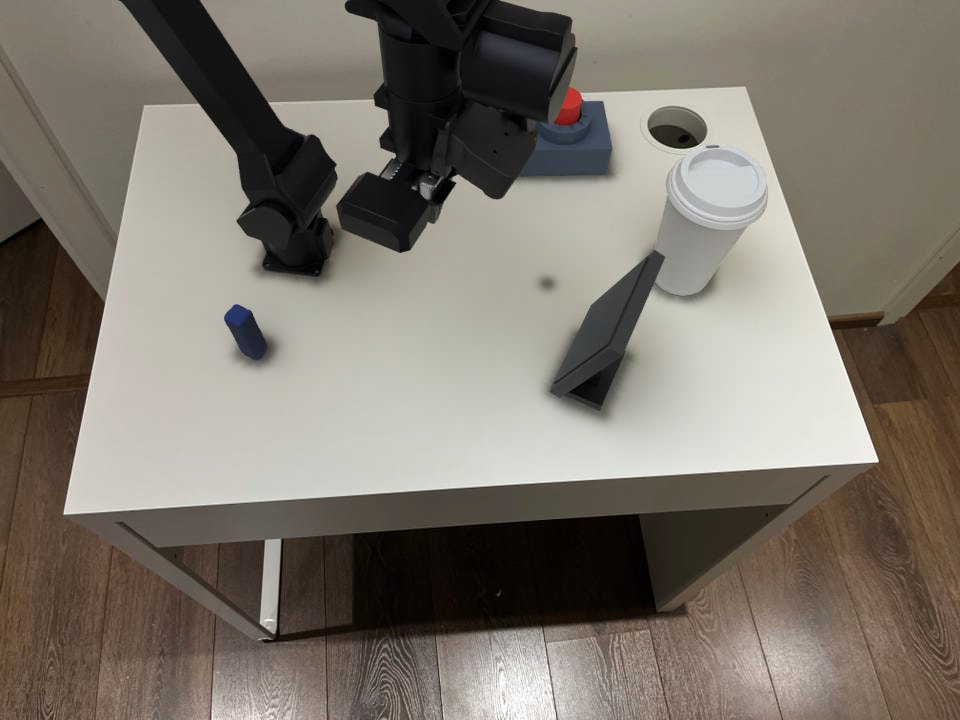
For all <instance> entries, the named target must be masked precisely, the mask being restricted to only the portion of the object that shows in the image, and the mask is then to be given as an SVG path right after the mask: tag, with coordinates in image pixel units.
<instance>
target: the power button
mask: <svg viewBox="0 0 960 720" xmlns="http://www.w3.org/2000/svg"><path fill="white" fill-rule="evenodd" d="M582 99H583V96H582V94H581V92H580V91H579V90H577V89H576V88H573V87H570V86H569V88H568V91H567V94H566V97H565V100H564V103H563V105H562V108H561V110H560V112H559V114H558V116H557V118H556V120H555V121H554V123H555V124H558V125H572V124H574V123H576V122H577V120H578V118H579V113H580V108H581V103H582Z"/></svg>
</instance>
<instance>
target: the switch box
mask: <svg viewBox="0 0 960 720" xmlns="http://www.w3.org/2000/svg"><path fill="white" fill-rule="evenodd" d="M535 129H536V130H537V131H539V133H538V135H537V136H538V141H537V142H536V148H535V150H534V151H533V153H532V155H531V156H530V158H529V160H528V161H527V163H526V164H525V166H524V168H523V169H522V171H521V173H520V174H519V176H518V177H537V176H538V177H543V176H544V177H545V176H549V177H550V176H596V175H597V176H598V175H599V176H600V175H607V171H608V169H609V164H610V160H611V157H612V153H613V143H612V139H611V134H610V129H609V123H608V118H607V112H606V108H605V103H604V100H585V99H583V98H582V103H581V108H580V113H579V118H578V120H577V122H576V123H574V124H572V125H558V124H555V123H553V124H552V125H548V124H545V123H542V122H538V121H536V124H535V126H534V127H533V131H534V130H535Z"/></svg>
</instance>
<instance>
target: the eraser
mask: <svg viewBox="0 0 960 720" xmlns="http://www.w3.org/2000/svg"><path fill="white" fill-rule="evenodd" d="M223 321H224V323H225V325H226V327H227V328H228V329H229V332H230V333H231V335H232V336H233V338H234V340H235V342H236V344H237V346H238V348H239V350H240V351H241V353H242V354H243V355H244V356H247V357H248V358H249V359H251V360H254V361H255V360H257V361H258V360H259V359H260V358H262V357H263V356H264V354H265V352H266V351H267V349H268V344H267V343H268V342H267V341H266V338H265V336H264V335H263V333H262V330H261V328H260V327H259V324H258V323H257V320H256V318H255V316H254V313H253V311H252V310H251V309H248V308H246V307H245V306H243V305H240V304H238V303H236V304H233V305H232V306H231V308H230V309H228V310H226V312H225V314H224V316H223Z"/></svg>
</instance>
